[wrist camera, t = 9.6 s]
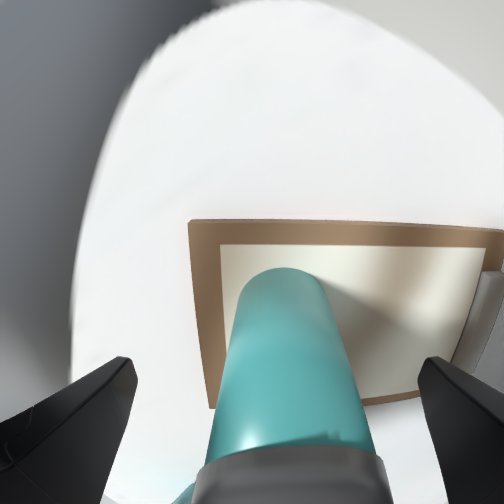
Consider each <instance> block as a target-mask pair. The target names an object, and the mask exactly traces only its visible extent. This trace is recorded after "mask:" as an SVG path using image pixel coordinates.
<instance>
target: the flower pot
mask: <svg viewBox="0 0 504 504" xmlns="http://www.w3.org/2000/svg"><path fill="white" fill-rule="evenodd" d="M194 487H195V483H193V484H191V485H190V486H189V487H188V488H187V489H186V490H185V491H184V492H183V493H182V494H181V495H180V496H179V497H178V498H177V499H176V500H175V501H174V502H173V503H172V504H191V501H192V497H193V492H194Z"/></svg>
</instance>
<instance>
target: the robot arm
mask: <svg viewBox="0 0 504 504" xmlns="http://www.w3.org/2000/svg"><path fill="white" fill-rule="evenodd" d="M417 383H418V387H419V392H420V396H421V400H422V404H423V409H424V413H425V418H426V422H427V425H428V428H429V431H430V435H431V438H432V441H433V444H434V448H435V451H436V455H437V458H438V462H439V465H440V469H441V473H442V477H443V481H444V485H445V489H446V493H447V498H448V502H449V504H504V394H502V393H500V392H499V391H497V390H495V389H493V388H492V387H490V386H488V385H487V384H485V383H483V382H482V381H480V380H478V379H476V378H475V377H473V376H471V375H470V374H468V373H466V372H464V371H463V370H461V369H459V368H458V367H456V366H454V365H453V364H451V363H449V362H447V361H446V360H444V359H442V358H441V357H439V356H432V357H427V358H426V359H425V361H424V363H423V365H422V368H421V370H420V373H419V375H418V379H417ZM137 384H138V378H137V374H136V371H135V368H134V365H133V362H132V360H131V359H130V358H128V357H121V356H118V357H116V358H114V359H113V360H111V361H109V362H108V363H106V364H104V365H103V366H101V367H99V368H97V369H96V370H94V371H92V372H91V373H89V374H87V375H86V376H84V377H82V378H81V379H79V380H77V381H75V382H74V383H72V384H70V385H69V386H67V387H65V388H63V389H62V390H60V391H58V392H57V393H55V394H53V395H51V396H50V397H48V398H46V399H44V400H43V401H41V402H39V403H37V404H36V405H34V407H33V406H32V407H30V408H28V409H27V410H25V411H23V412H21V413H19V414H17V415H16V416H14V417H12V418H10V419H7V420H5V421H3V422H1V423H0V504H100V501H101V498H102V495H103V492H104V489H105V486H106V483H107V480H108V477H109V474H110V471H111V468H112V465H113V462H114V459H115V456H116V454H117V451H118V448H119V445H120V443H121V440H122V437H123V434H124V432H125V429H126V426H127V423H128V419H129V415H130V411H131V407H132V403H133V399H134V396H135V392H136V388H137Z"/></svg>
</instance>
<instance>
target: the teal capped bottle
mask: <svg viewBox="0 0 504 504" xmlns="http://www.w3.org/2000/svg"><path fill="white" fill-rule="evenodd" d="M191 504H394V503H393V498H392V494H391V490H390V486H389V482H388V478H387V474H386V470H385V466H384V463H383V460H382V459H381V458H380V457H379V456H378V455H376V452H375V448H374V444H373V440H372V437H371V433H370V430H369V426H368V422H367V419H366V415H365V412H364V409H363V405H362V402H361V399H360V395H359V392H358V389H357V385H356V382H355V379H354V376H353V373H352V370H351V366H350V363H349V360H348V357H347V354H346V351H345V348H344V345H343V342H342V339H341V336H340V333H339V330H338V328H337V325H336V322H335V319H334V316H333V313H332V310H331V308H330V305H329V302H328V299H327V297H326V294H325V292H324V289H323V288H322V286H321V284H320V283H319V282H318V281H317V280H316V279H315V278H314V277H313V276H311V275H310V274H308V273H306V272H304V271H301V270H298V269H294V268H287V267H281V268H273V269H269V270H266V271H264V272H261V273H259V274H258V275H256V276H254V277H253V278H252V279H251V280H249V282H248V283H247V284H246V285H245V286H244V288H243V289H242V291H241V293H240V295H239V298H238V303H237V308H236V313H235V317H234V322H233V327H232V332H231V337H230V342H229V347H228V351H227V356H226V361H225V366H224V371H223V376H222V381H221V386H220V391H219V395H218V400H217V405H216V410H215V415H214V420H213V425H212V430H211V435H210V440H209V445H208V450H207V455H206V460H205V465H204V467H203V468H201V469H200V470H199V472H198V474H197V478H196V483H195V487H194V492H193V497H192V501H191Z"/></svg>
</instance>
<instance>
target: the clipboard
mask: <svg viewBox="0 0 504 504" xmlns="http://www.w3.org/2000/svg"><path fill="white" fill-rule="evenodd" d="M188 235H189V248H190V260H191V272H192V282H193V292H194V302H195V311H196V319H197V327H198V335H199V343H200V350H201V358H202V365H203V371H204V378H205V384H206V391H207V397H208V403H209V409H216V405H217V400H218V395H219V391H220V386H221V381H222V376H223V371H224V366H225V361H226V356H227V351H228V347H229V342H230V337H231V332H232V327H233V322H234V317H235V313H236V308H237V303H238V298H239V295H240V293H241V291H242V289H243V288H244V286H245V285H246V284H247V283H248V282H249V280H251V279H252V278H253V277H254V276H256V275H258V274H259V273H261V272H264V271H266V270H269V269H273V268H281V267H287V268H294V269H298V270H301V271H304V272H306V273H308V274H310V275H311V276H313V277H314V278H315V279H316V280H317V281H318V282H319V283H320V284H321V286H322V288H323V289H324V292H325V294H326V297H327V299H328V302H329V305H330V308H331V310H332V313H333V316H334V319H335V322H336V325H337V328H338V330H339V333H340V336H341V339H342V342H343V345H344V348H345V351H346V354H347V357H348V360H349V363H350V366H351V370H352V373H353V376H354V379H355V382H356V385H357V389H358V392H359V395H360V399H361V402H362V405H363V406H368V405H375V404H382V403H389V402H395V401H400V400H406V399H411V398H416V397H421V396H420V392H419V387H418V383H417V379H418V375H419V373H420V370H421V368H422V365H423V363H424V361H425V359H426V358H427V357H432V356H439V357H441V358H442V359H444V360H446V361H447V362H449V363H451V364H453V365H454V366H456V367H458V368H459V369H461V370H463V371H464V372H466V373H468V374H469V373H472V372H473V371H474V369H475V367H476V365H477V363H478V361H479V359H480V357H481V355H482V352H483V350H484V348H485V346H486V343H487V341H488V339H489V336H490V334H491V331H492V329H493V326H494V323H495V321H496V318H497V315H498V312H499V310H500V307H501V304H502V301H503V298H504V273H503V272H502V271H501V267H502V263H503V259H504V230H500V229H488V228H476V227H462V226H447V225H431V224H413V223H393V222H369V221H338V220H290V219H196V220H191V221H190V222H188Z"/></svg>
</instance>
